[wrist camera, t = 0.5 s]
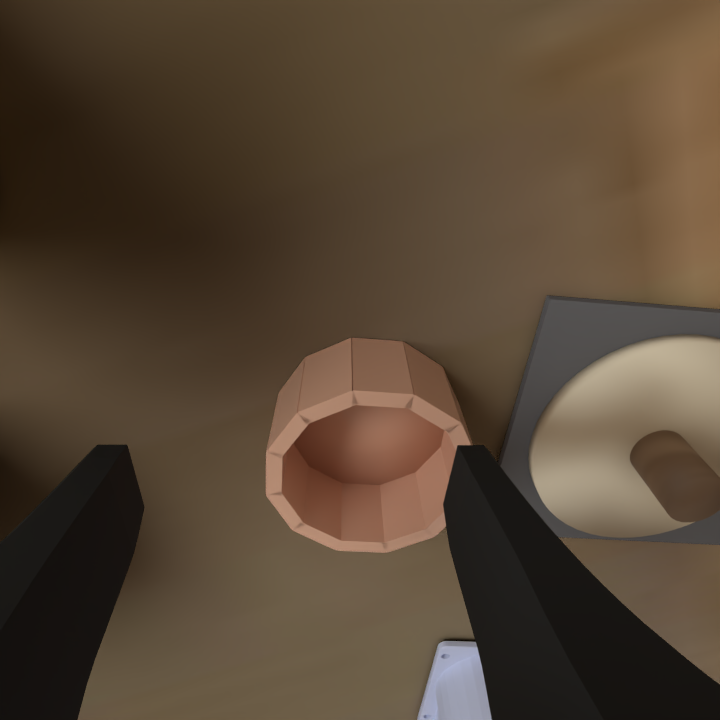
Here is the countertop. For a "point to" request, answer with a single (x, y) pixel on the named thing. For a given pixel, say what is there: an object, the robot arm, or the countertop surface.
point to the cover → (634, 440)
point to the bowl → (364, 446)
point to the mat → (571, 355)
